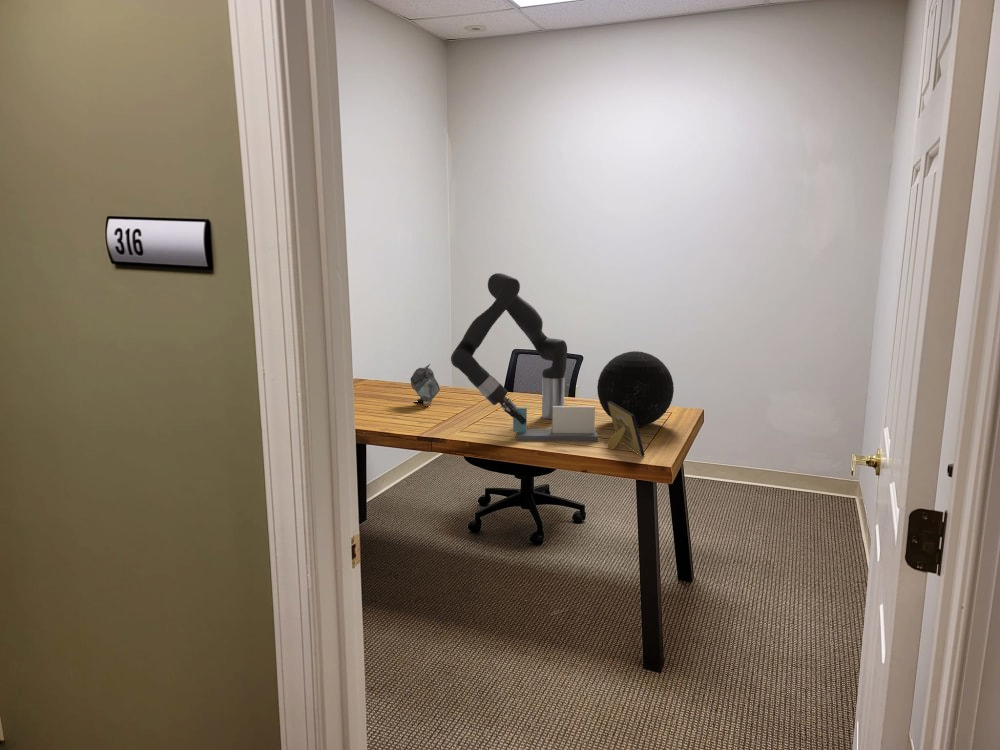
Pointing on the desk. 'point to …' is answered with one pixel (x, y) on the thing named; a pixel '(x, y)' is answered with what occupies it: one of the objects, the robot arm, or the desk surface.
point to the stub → (516, 424)
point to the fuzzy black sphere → (636, 386)
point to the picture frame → (624, 429)
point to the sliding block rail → (566, 426)
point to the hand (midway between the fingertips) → (524, 422)
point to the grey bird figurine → (425, 385)
